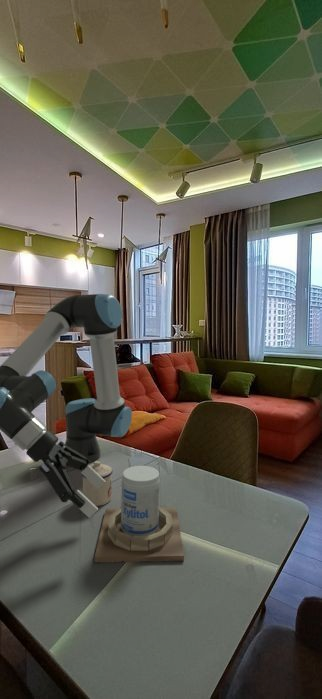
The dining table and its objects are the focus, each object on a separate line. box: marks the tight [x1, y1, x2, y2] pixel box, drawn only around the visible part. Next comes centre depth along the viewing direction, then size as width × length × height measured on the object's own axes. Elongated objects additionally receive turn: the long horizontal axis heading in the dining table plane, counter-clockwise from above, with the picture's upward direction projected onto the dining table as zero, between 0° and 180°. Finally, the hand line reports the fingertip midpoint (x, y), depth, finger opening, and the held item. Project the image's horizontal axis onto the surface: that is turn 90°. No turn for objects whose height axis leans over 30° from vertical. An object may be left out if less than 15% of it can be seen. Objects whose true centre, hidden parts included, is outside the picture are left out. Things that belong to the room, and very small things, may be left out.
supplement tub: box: [120, 465, 161, 536], centre depth 84 cm, size 10×10×15 cm
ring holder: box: [94, 505, 185, 563], centre depth 85 cm, size 20×20×4 cm
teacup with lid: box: [81, 460, 113, 507], centre depth 103 cm, size 12×9×12 cm
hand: (98, 498), depth 84 cm, fingers open, 13 cm apart
